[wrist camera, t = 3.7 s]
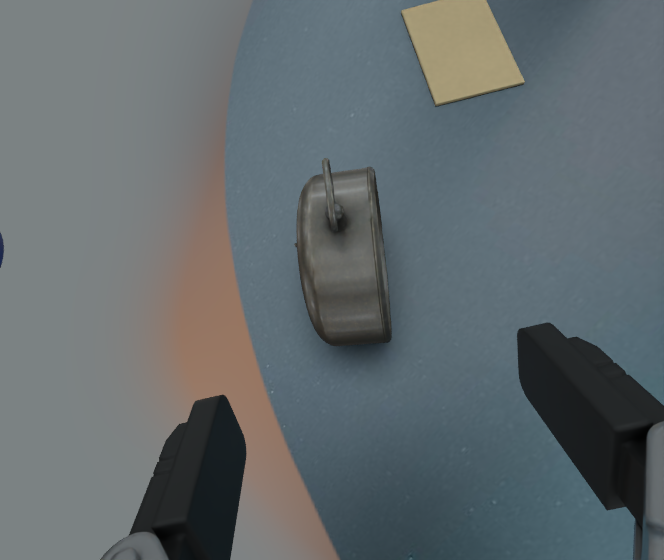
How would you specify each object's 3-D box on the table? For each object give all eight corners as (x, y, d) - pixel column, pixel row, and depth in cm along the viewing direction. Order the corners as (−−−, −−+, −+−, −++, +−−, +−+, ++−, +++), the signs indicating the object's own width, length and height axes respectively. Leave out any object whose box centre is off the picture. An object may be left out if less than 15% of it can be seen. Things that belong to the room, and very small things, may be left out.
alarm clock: (393, 356, 31) (403, 293, 15) (321, 361, 31) (260, 304, 16) (381, 223, 34) (379, 64, 19) (317, 229, 35) (263, 79, 19)
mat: (435, 106, 37) (435, 104, 37) (401, 13, 41) (401, 10, 41) (523, 84, 37) (524, 81, 37) (480, -8, 41) (480, -11, 41)
